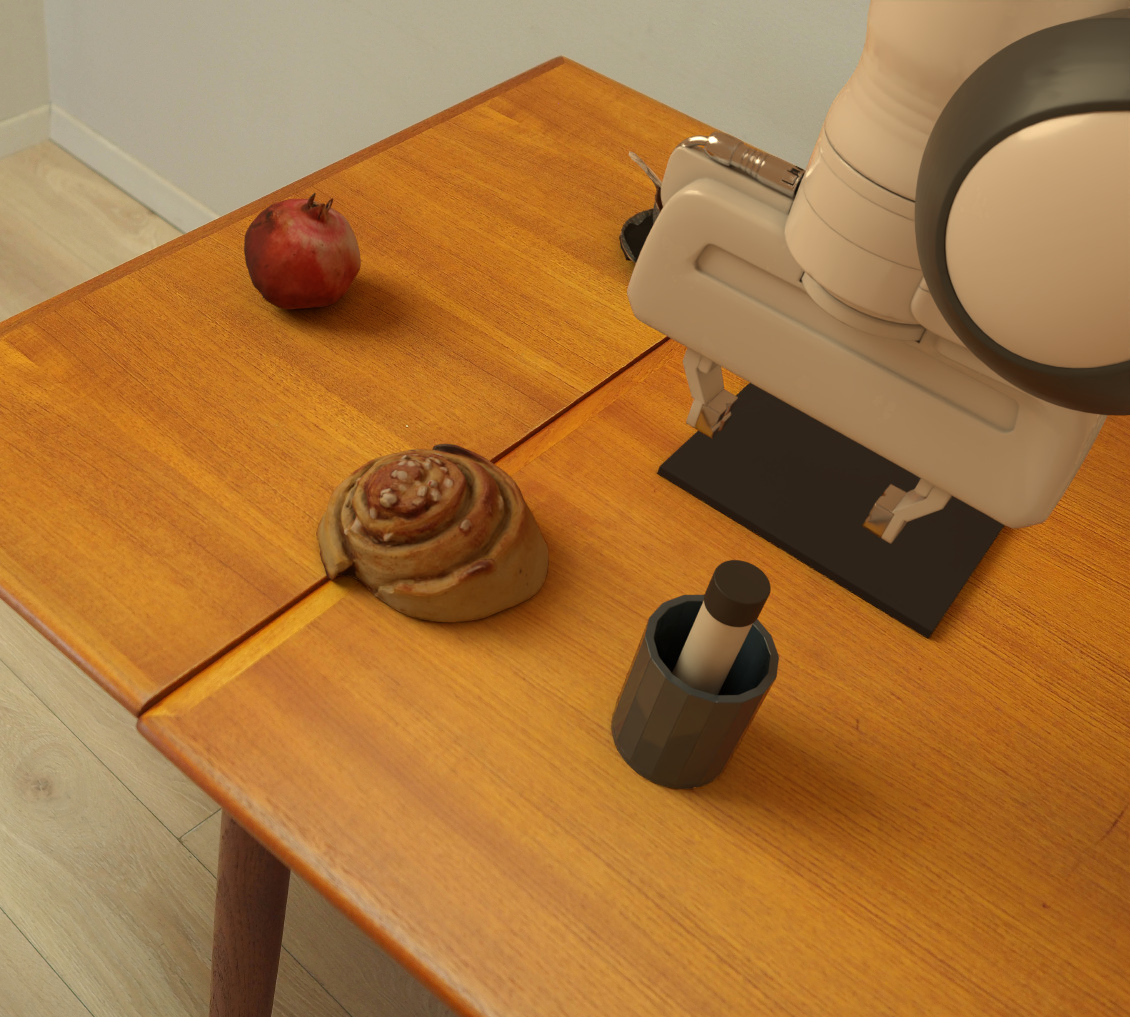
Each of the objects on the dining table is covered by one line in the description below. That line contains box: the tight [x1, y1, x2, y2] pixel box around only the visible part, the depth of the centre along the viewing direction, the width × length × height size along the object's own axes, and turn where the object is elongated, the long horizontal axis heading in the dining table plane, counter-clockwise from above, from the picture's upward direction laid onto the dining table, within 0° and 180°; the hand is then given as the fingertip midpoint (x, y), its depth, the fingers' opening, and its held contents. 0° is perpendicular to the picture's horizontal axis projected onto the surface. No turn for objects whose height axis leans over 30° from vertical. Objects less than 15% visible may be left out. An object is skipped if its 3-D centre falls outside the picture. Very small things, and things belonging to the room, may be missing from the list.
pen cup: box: [610, 594, 780, 790], centre depth 67 cm, size 7×7×9 cm
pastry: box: [315, 443, 550, 623], centre depth 75 cm, size 13×15×8 cm
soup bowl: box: [618, 150, 663, 265], centre depth 104 cm, size 15×16×7 cm
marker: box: [672, 559, 772, 695], centre depth 65 cm, size 3×3×14 cm
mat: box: [656, 382, 1006, 639], centre depth 87 cm, size 22×18×1 cm
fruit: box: [243, 192, 362, 310], centre depth 92 cm, size 9×10×10 cm
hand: (791, 475), depth 54 cm, fingers open, 8 cm apart
